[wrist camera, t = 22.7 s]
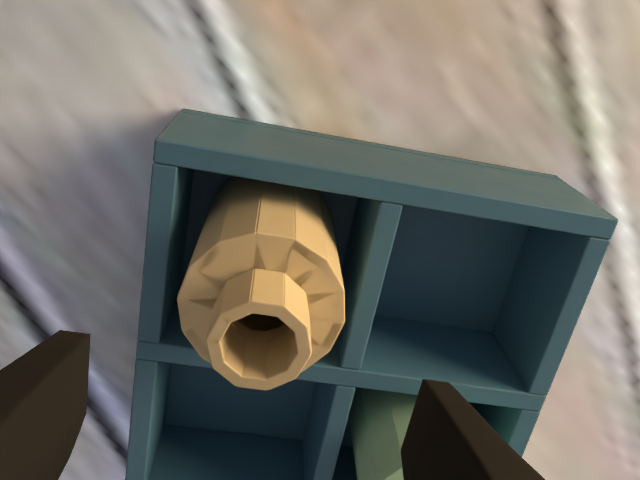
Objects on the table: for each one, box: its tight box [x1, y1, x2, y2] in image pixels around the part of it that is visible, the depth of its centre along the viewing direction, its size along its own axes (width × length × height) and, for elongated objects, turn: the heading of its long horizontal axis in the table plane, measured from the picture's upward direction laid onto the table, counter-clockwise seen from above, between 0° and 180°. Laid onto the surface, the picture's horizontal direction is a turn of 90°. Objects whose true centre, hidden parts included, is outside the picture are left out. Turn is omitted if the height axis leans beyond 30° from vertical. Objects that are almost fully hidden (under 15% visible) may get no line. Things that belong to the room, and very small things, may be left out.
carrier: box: [125, 109, 618, 480], centre depth 22 cm, size 14×14×5 cm
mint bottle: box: [349, 387, 418, 480], centre depth 21 cm, size 4×5×8 cm
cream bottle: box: [177, 177, 345, 391], centre depth 18 cm, size 4×5×8 cm
